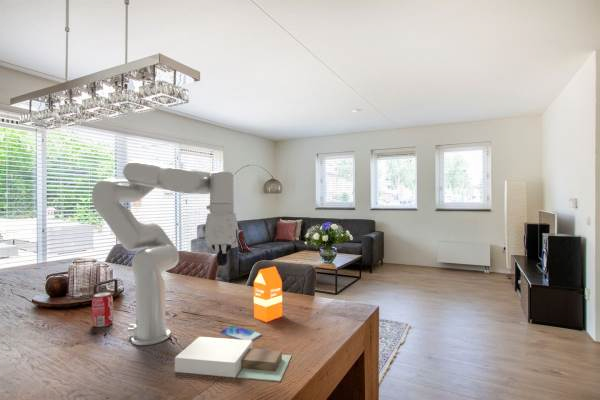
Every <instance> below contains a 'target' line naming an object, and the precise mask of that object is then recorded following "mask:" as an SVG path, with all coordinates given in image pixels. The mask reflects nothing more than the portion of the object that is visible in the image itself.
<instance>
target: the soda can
mask: <svg viewBox="0 0 600 400" xmlns="http://www.w3.org/2000/svg"><path fill="white" fill-rule="evenodd" d="M111 294H112V292H110V291H104V292H103V291H102V292H98V293H95V294H94V295H93V298H92V300H91V323H92V326H94V327H96V328H103V327H107V326H109V325H111V323H113V320H114V299H113V298H114V297H113V295H111Z"/></svg>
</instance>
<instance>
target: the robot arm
mask: <svg viewBox="0 0 600 400" xmlns="http://www.w3.org/2000/svg"><path fill="white" fill-rule="evenodd" d="M122 175H123V176H124V178H125V179H121V178H120V179H119V178H118V179H117V178H107V179H103V180H100V181H98V182H96V183H95V185H93V188H92V193H91V200H92V204H93V207H94V209H95V210H96V212H97V213H98V215H99V216H100V217H101V218H102V220H103V221H105V223H106V224H107V225H108V226H109V228H110V230H111V231H112V233H113V234H114V235H115V237H116V238H117V241H119V243H120V244H121V246H122V247H123V248H124V249H125V250H127V251H129V252H130V251H131V252H133V251H135V252H136V251H137V252H136V253H135V254H134V255H133V257H132V259H131V270H132V274H133V278H134V286H135V287H134V288H135V294H134V295H135V323H130V324H129V325H128V328H127V330H126V331H127V333H133V335H132V336H131V339H130V341H131V342H130V343H132V344H133V345H136V346H149V345H150V346H151V345H155V344H159V343H161V342H164V341H165V340H167V339H169V338H170V337H171V335H172V332H171V330H170V329H169V328H167V317H166V315H167V312H166V310H167V309H166V305H167V304H166V303H167V302H166V284H165V281H164V278H163V276H162V274H161V273H163V272H166V271H169V270H171V269H174V268H175V267H176V266H177V265H178V264H179V262H180V254H179V251H178V249H177V247H176V246H175V244H174V243H173V242H172V240H171V239H170V237H169V235H168V234H167V233H166V232H165V231H164V229H163V228H162V227H161V226H160V225H159V224H157V223H154V222H143V223H142V222H140V221H138V220H137V218H136V217H135V215H134V214H133V213H132V211H131V210H130V209H128V208H127V207H126V206H124V205H123V204H121V203H135V202H138V201H140V200H142V199H143V198H144V197H146V196H147V195H148V194H150V193H151V192H152V191H153V190H155V188H156V189H161V190H166V191H169V192H170V191H171V192H177V193H180V194H181V193H183V194H190V195H193V194H194V195H195V194H197V195H198V194H199V195H209V205H206V210H208V211H209V213H207V214H206V220H205V226H204V227H205V228H204V242H205V243H206V244H205V245H206V247H207V248H212V249H213V250H214V252H215V254H216V262H217V266H219V267H220V266H221V267H223V266H226V265H227V263H228V261H229V259H228V258H229V257H228V256H229V255H228V253H229V252H230V251H231V249H234V248H238V247H239V243H238V241H239V226H238V225H239V224H238V220H237V219H238V218H237V215H236V213H235V210H234V203H235V202H234V199H235V197H234V194H235V191H234V173H232V172H231V171H228V170H216V171H215V170H214V171H212V172H207V171H201V170H192V169H184V168H178V167H172V166H170V165H169V164H165V163H157V162H152V161H151V162H150V161H143V160H132V161H129V162H128V163H126V164H125V166H124V167H123V170H122Z"/></svg>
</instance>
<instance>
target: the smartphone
mask: <svg viewBox="0 0 600 400" xmlns="http://www.w3.org/2000/svg"><path fill="white" fill-rule="evenodd" d="M218 333H219V335H223V336H225V337H229V338H231V339H240V340H252V342H254V341H255V340H256V339H259V338H261V337H263V334H262V332H261V333H260V332H258V331H254V330H250V329H246V328H243V327H240V326H237V325H231V326H228V327H227V328H224V329H222V330H220V331H219V332H218Z"/></svg>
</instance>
